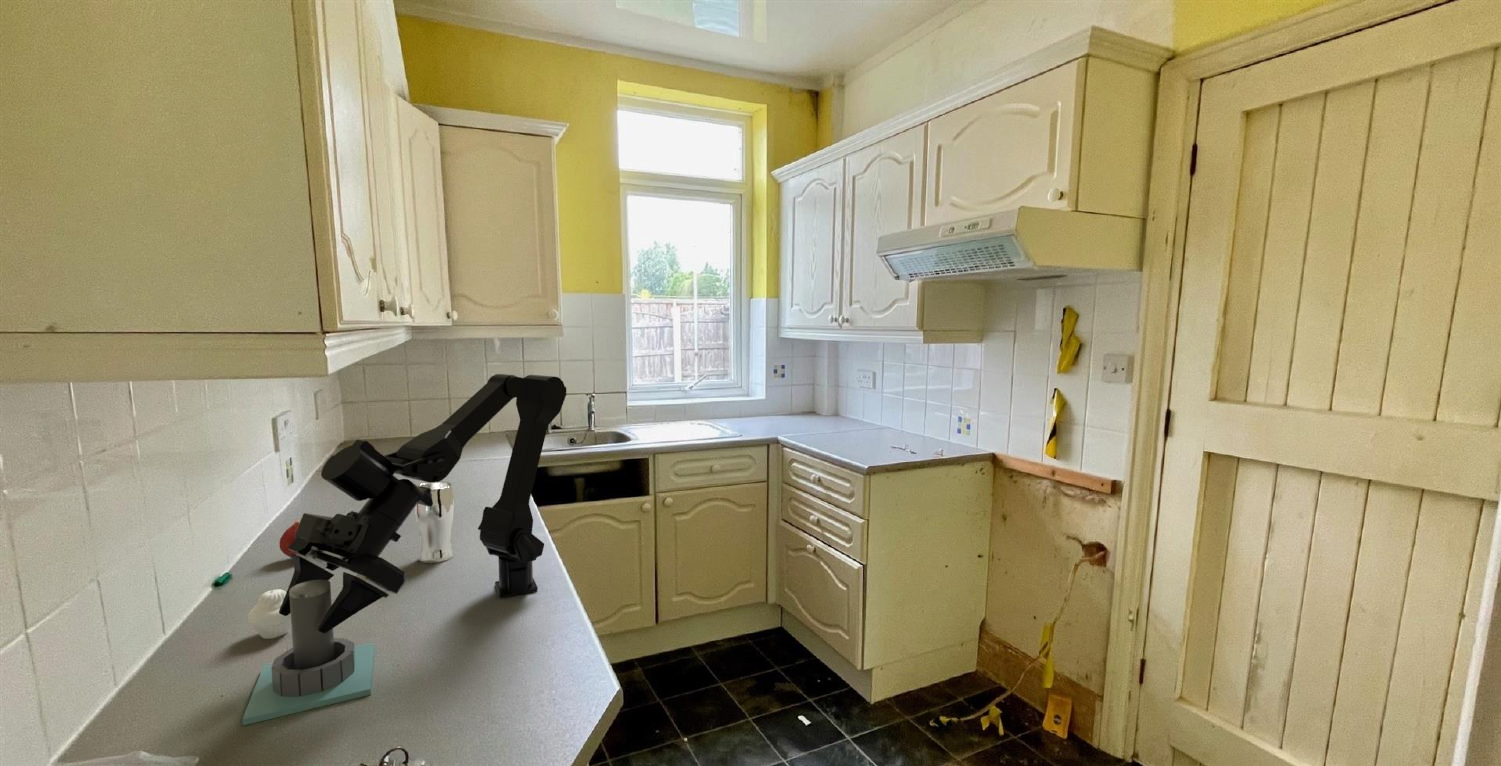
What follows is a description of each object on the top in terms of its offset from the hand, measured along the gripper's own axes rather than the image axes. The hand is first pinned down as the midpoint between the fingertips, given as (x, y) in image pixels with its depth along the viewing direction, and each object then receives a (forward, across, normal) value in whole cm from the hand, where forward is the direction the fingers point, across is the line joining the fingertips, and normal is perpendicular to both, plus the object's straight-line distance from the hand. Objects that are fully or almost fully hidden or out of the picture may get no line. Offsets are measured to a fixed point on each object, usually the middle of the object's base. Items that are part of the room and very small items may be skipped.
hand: (300, 623), depth 80 cm
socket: (+5, 0, +7) cm, 9 cm away
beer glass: (-19, -25, +32) cm, 45 cm away
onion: (-9, -47, +22) cm, 53 cm away
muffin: (+3, -19, +10) cm, 22 cm away
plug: (+5, 0, +7) cm, 8 cm away
